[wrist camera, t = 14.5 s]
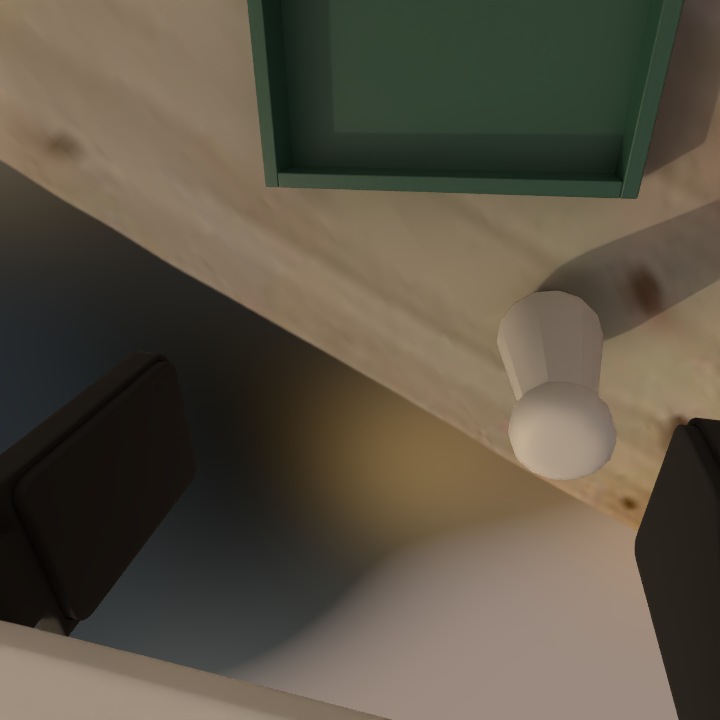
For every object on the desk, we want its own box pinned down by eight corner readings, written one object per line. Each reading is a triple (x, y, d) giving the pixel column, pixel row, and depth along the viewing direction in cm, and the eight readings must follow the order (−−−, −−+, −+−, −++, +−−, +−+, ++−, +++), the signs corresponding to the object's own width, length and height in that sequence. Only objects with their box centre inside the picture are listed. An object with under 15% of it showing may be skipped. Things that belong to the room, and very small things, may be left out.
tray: (284, 178, 32) (265, 186, 30) (260, -110, 26) (233, -129, 23) (626, 187, 28) (637, 199, 25) (703, -157, 21) (728, -187, 19)
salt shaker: (605, 350, 32) (654, 495, 21) (513, 372, 34) (513, 512, 23) (583, 264, 30) (623, 375, 19) (486, 293, 32) (473, 407, 21)
